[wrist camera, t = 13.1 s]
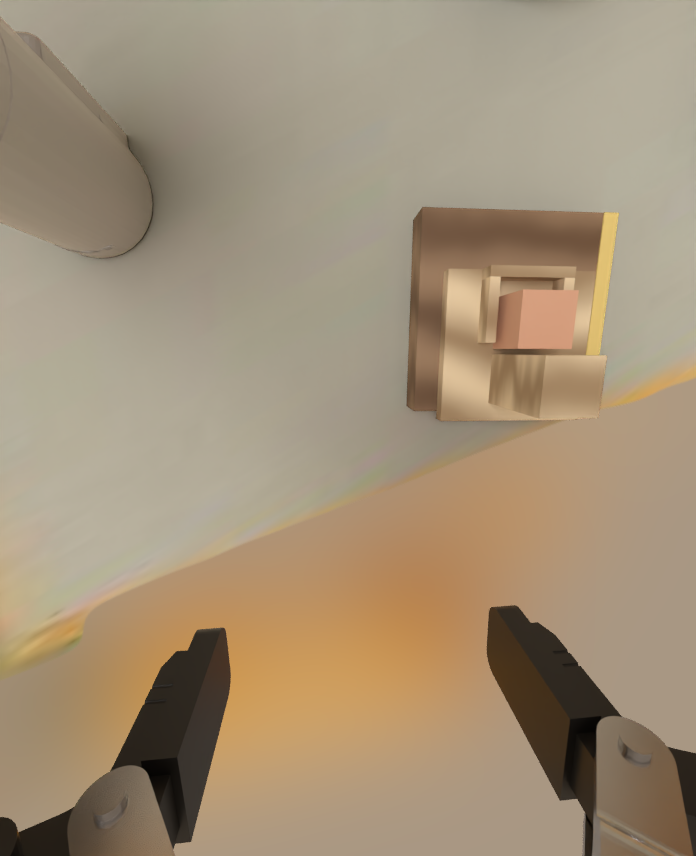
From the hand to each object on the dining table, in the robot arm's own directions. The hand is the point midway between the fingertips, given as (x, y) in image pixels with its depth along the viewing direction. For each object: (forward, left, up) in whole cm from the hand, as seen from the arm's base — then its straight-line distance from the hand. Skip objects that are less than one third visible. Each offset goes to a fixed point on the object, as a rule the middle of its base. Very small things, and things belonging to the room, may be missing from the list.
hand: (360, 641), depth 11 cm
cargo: (-11, +15, -21) cm, 28 cm away
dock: (-11, +15, -25) cm, 31 cm away
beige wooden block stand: (-9, +15, -22) cm, 28 cm away
